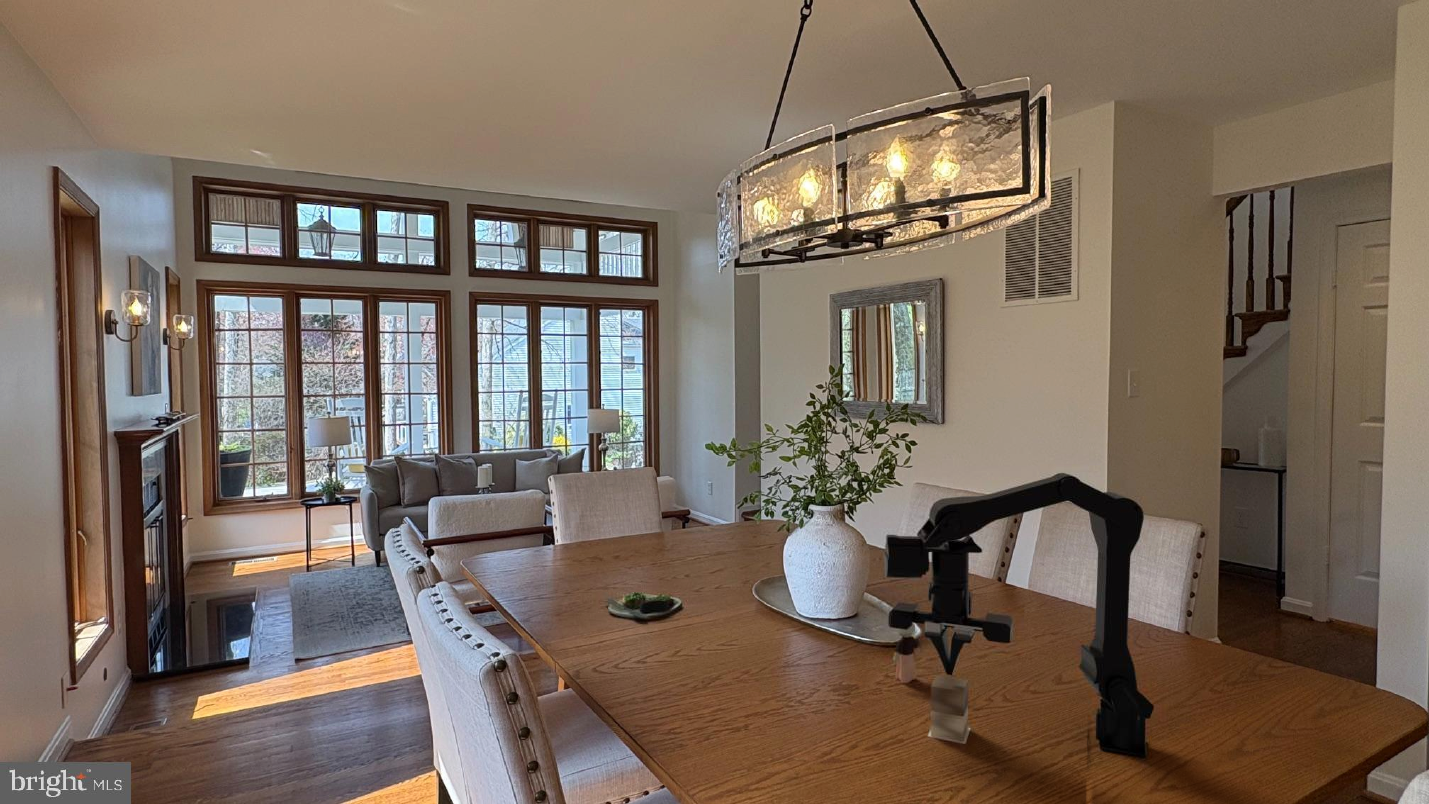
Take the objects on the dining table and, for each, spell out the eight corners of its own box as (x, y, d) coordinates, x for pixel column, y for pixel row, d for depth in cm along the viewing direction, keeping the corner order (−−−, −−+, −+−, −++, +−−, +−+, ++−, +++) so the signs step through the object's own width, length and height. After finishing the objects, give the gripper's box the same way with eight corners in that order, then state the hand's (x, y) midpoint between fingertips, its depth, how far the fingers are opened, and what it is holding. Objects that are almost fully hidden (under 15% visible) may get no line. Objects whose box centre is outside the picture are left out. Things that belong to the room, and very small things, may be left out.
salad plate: (586, 615, 190) (586, 597, 189) (626, 596, 205) (626, 579, 205) (653, 626, 181) (653, 607, 181) (689, 606, 197) (689, 588, 197)
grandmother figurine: (904, 676, 149) (905, 611, 149) (923, 681, 147) (923, 615, 146) (886, 688, 143) (886, 622, 143) (905, 694, 141) (906, 626, 140)
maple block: (967, 728, 125) (967, 704, 125) (963, 741, 121) (963, 716, 120) (936, 722, 127) (936, 698, 127) (930, 735, 123) (930, 710, 123)
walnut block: (968, 704, 125) (968, 680, 125) (963, 716, 120) (963, 691, 120) (936, 698, 127) (936, 675, 127) (931, 710, 123) (931, 686, 123)
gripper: (1016, 572, 126) (1016, 666, 127) (902, 561, 134) (902, 649, 135) (1010, 590, 116) (1009, 691, 117) (887, 576, 124) (887, 671, 125)
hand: (949, 674), depth 124 cm, fingers closed
